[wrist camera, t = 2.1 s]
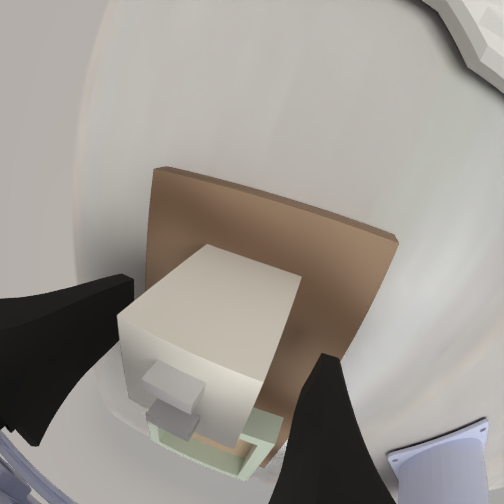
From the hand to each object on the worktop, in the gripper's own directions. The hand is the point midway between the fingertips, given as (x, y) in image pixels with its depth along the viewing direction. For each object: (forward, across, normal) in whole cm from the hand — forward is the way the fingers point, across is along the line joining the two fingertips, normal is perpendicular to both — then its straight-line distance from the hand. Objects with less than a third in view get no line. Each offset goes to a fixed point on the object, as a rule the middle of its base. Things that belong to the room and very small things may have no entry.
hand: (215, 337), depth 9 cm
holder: (+4, 0, +11) cm, 12 cm away
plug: (+3, 0, 0) cm, 3 cm away
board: (+4, 0, +6) cm, 7 cm away
